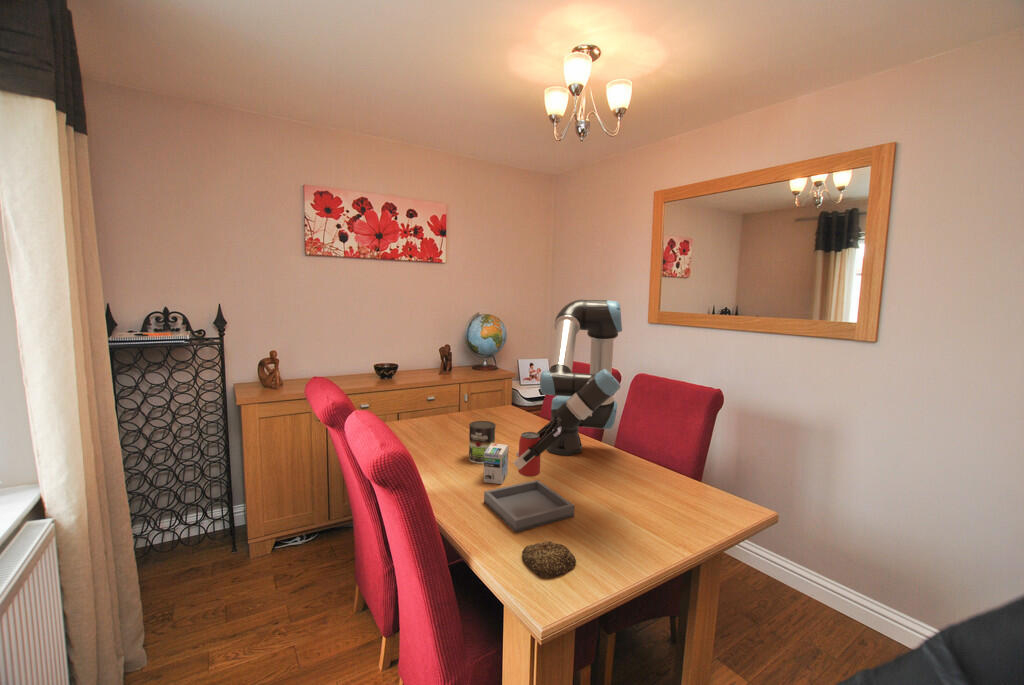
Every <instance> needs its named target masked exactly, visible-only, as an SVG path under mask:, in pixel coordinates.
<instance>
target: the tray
mask: <svg viewBox="0 0 1024 685" xmlns="http://www.w3.org/2000/svg"><path fill="white" fill-rule="evenodd" d="M483 503H484V504H485V503H486V504H485V505H486V506H487V507H488V508H489V509H490V510H491V511H492V512H493V513H495V514H496V516H498V517H499V518H500V519H501V520H502V521H503V522H504V523H505V524H506V525H507V526H508V527H509V528H510V529H511V530H512V531H513V532H514V533H516V534H517V533H520V532H523V531H527V530H530V529H534V528H537V527H542V526H546V525H549V524H552V523H555V522H559V521H563V520H566V519H570V518H573V517H575V505H574V504H573V503H572V502H571V501H569V500H568V499H566V498H565V497H563V496H562V495H560V494H559V493H558V492H556V491H555V490H554V489H552V488H551V487H549V486H548V485H546V484H545V483H544V482H541V481H540V480H539V479H537V480H531V481H527V482H526V481H525V482H522V483H517V484H513V485H508V486H503V487H499V488H494V489H490V490H485V491H484V492H483Z"/></svg>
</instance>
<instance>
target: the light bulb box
mask: <svg viewBox="0 0 1024 685" xmlns="http://www.w3.org/2000/svg"><path fill="white" fill-rule="evenodd" d="M508 473H509V445H508V444H502V443H496V442H495V443H491V444H490V446H489V447H488V448H487V450H486V451H485V452H484V464H483V483H488V484H496V485H497V484H498V485H502V484H503V482H504V481H505V479H506V478H507V476H508V475H509V474H508Z"/></svg>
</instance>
